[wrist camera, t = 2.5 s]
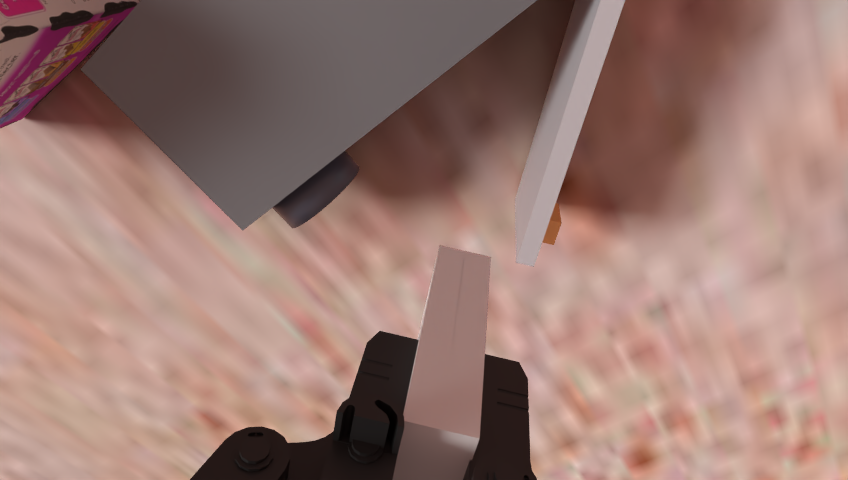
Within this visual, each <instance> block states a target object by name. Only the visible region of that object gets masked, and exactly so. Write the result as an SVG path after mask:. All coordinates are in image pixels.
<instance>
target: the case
mask: <svg viewBox="0 0 848 480" xmlns="http://www.w3.org/2000/svg"><path fill="white" fill-rule="evenodd" d="M536 1H537V0H141V1H140V2H139V3H138V4H137V5H136V6H135V8H134V9H133V10H132V11H131V12H130V13H129V14H128V16H127V17H126V18H125V19H124V20H123V21H122V22H121V24H120V25H119V26H118V27H117V28H116V29H115V30H114V32H113V33H112V34H111V35H110V36H109V37H108V38H107V40H106V41H105V42H104V43H103V44H102V45H101V46H100V48H99V49H98V50H97V51H96V52H95V53H94V54H93V56H92V57H91V58H90V59H89V60H88V61H87V62H86V64H85V65H84V66H83V67H82V68H81V69H80V70H81V71H82V72H83V73H84V74H85V75H86V76H87V77H88V78H89V79H90V80H91V81H92V82H93V83H94V84H95V85H96V86H97V87H98V88H100V89H101V90H102V91H103V92H104V93H105V94H106V95H107V96H108V97H109V98H110V99H111V100H112V101H113V102H114V103H115V104H116V105H117V106H118V107H119V108H120V109H121V110H122V111H123V112H124V113H125V114H126V115H127V116H128V117H129V118H130V119H131V120H132V121H133V122H134V123H135V124H136V125H137V126H138V127H139V128H140V129H141V130H142V131H143V132H144V133H145V134H146V135H147V136H148V137H149V138H150V139H151V140H152V141H153V142H154V143H155V144H156V145H157V146H158V147H159V148H160V149H161V150H162V151H163V152H164V153H165V154H166V155H167V156H168V157H169V158H170V159H171V160H172V161H173V162H174V163H175V164H176V165H177V166H178V167H179V168H180V169H181V170H182V171H183V172H184V173H185V174H186V175H187V176H188V177H189V178H190V179H191V180H192V181H193V182H194V183H195V184H196V185H197V186H198V187H199V188H200V189H201V190H202V191H203V192H204V193H205V194H206V195H207V196H208V197H209V198H210V199H211V200H212V201H213V202H214V203H215V204H216V205H217V206H218V207H219V208H220V209H221V210H222V211H223V212H224V213H225V214H226V215H227V216H229V217H230V218H231V219H232V220H233V221H234V222H235V223H236V224H237V225H238V226H239V227H240V228H241V229H242V230H244V229H245V228H247V227H248V226H249V225H250V224H252V223H253V222H254V221H256V220H257V219H258V218H259V217H261V216H262V215H263V214H265V213H266V212H267V211H268V210H270V209H271V208H273V209H274V210H275V211H276V212H277V213H278V214H279V215H280V216H281V217H282V218H283V219H284V220H285V221H286V222H287V223H288V224H289V225H290V226H291V227H292V228H296V227H298V226H300V225H302V224H304V223H305V222H307V221H308V220H309V219H311V218H312V217H314V216H315V215H316V214H317V213H319V212H320V211H321V210H322V209H324V208H325V207H326V206H327V205H328V204H329V203H330V202H332V201H333V200H334V199H335V198H336V197H337V196H338V195H339V194H340V193H341V192H342V191H343V190H344V189H345V188H346V187H347V186H348V185H349V183H350V182H351V181H352V180H353V179H354V177H355V176H356V175H357V173H358V171H359V166H358V165H357V164H356V163H355V162H354V160H353V159H352V158H351V157H350V156H349V155H348V154H347V152H346V151H345V150H346V149H348V148H349V147H350V146H351V145H353V144H354V143H355V142H357V141H358V140H359V139H360V138H362V137H363V136H364V135H366V134H367V133H368V132H369V131H371V130H372V129H373V128H374V127H376V126H377V125H378V124H380V123H381V122H382V121H383V120H385V119H386V118H387V117H389V116H390V115H391V114H392V113H394V112H395V111H396V110H397V109H399V108H400V107H401V106H403V105H404V104H405V103H406V102H408V101H409V100H410V99H412V98H413V97H414V96H415V95H417V94H418V93H419V92H421V91H422V90H423V89H424V88H426V87H427V86H428V85H429V84H431V83H432V82H433V81H435V80H436V79H437V78H438V77H440V76H441V75H442V74H444V73H445V72H446V71H447V70H449V69H450V68H451V67H452V66H454V65H455V64H456V63H458V62H459V61H460V60H461V59H463V58H464V57H465V56H467V55H468V54H469V53H470V52H472V51H473V50H474V49H475V48H477V47H478V46H479V45H481V44H482V43H483V42H484V41H486V40H487V39H488V38H490V37H491V36H492V35H493V34H495V33H496V32H497V31H498V30H500V29H501V28H502V27H504V26H505V25H506V24H507V23H509V22H510V21H511V20H513V19H514V18H515V17H516V16H518V15H519V14H520V13H521V12H523V11H524V10H525V9H527V8H528V7H529V6H530V5H532V4H533V3H534V2H536Z"/></svg>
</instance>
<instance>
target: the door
mask: <svg viewBox="0 0 848 480" xmlns="http://www.w3.org/2000/svg"><path fill="white" fill-rule="evenodd" d="M624 2H625V0H575V2H574V6H573V9H572V12H571V16H570V19H569V22H568V26H567V29H566V32H565V36H564V39H563V42H562V46H561V49H560V52H559V55H558V59H557V62H556V65H555V69H554V72H553V75H552V79H551V82H550V85H549V89H548V92H547V95H546V99H545V102H544V105H543V108H542V112H541V115H540V118H539V122H538V125H537V128H536V132H535V135H534V138H533V142H532V145H531V148H530V152H529V155H528V158H527V161H526V165H525V168H524V171H523V175H522V178H521V181H520V185H519V188H518V191H517V195H516V198H515V229H516V263H520V264H524V265H528V266H533V267H534V265H535V262H536V259H537V256H538V253H539V250H540V247H541V244H542V242H543V243H548V244H552V245H554V243H555V240H556V237H557V234H558V231H559V229H560V226H561V217H560V210H559V204H557V203H556V201H557V198H558V195H559V192H560V189H561V186H562V183H563V180H564V177H565V174H566V171H567V169H568V166H569V163H570V160H571V157H572V154H573V151H574V148H575V145H576V142H577V139H578V136H579V134H580V131H581V128H582V125H583V122H584V119H585V116H586V113H587V110H588V107H589V104H590V101H591V99H592V96H593V93H594V90H595V87H596V84H597V81H598V78H599V75H600V72H601V69H602V66H603V64H604V61H605V58H606V55H607V52H608V49H609V46H610V43H611V40H612V37H613V34H614V31H615V29H616V26H617V23H618V20H619V17H620V14H621V11H622V8H623V5H624Z"/></svg>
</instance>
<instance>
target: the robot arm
mask: <svg viewBox="0 0 848 480" xmlns="http://www.w3.org/2000/svg"><path fill="white" fill-rule="evenodd" d="M490 262H491V257H488V256H484V255H480V254H475V253H471V252H467V251H462V250H458V249H454V248H449V247H445V246H441V245H439V249H438V253H437V258H436V262H435V266H434V270H433V274H432V278H431V283H430V287H429V291H428V295H427V299H426V304H425V308H424V312H423V316H422V321H421V325H420V330H419V334H418V339H417V340H416V339H412V338H408V337H403V336H399V335H395V334H391V333H386V332H382V331H379V332H378V333H377V334H376V335H375V336H374V337H373V338H372V339H371V340H370V341H368V342H367V345H366V348H365V351H364V354H363V357H362V361H361V363H360V366H359V370H358V373H357V376H356V379H355V382H354V385H353V388H352V391H351V394H350V397H349V399H347V400H345V401H344V402H343V403H342V404H341V406H340V407H339V409H338V411H337V414H336V421H335V427H334V431H333V432H332V433H331V434H329V435H328V436H326V437H324V438H321V439H319V440H316V441H310V442H299V443H287V441H286V440H285V438H284V437H283V436H282V435H280V434H279V433H278V432H276V431H275V430H272V429H269V428H265V427H248V428H245V429H242V430H240V431H237V432H235V433H234V434H232V435H231V436H230V437H228V438H227V439H226V440H225V441H224V442H223V443H222V444H221V445H220V446H219V447H218V449H217V450H216V451H215V452H214V453H213V454H212V455H211V456H210V458H209V459H208V460H207V461H206V462H205V463H204V464H203V465H202V467H201V468H200V469H199V470H198V471H197V472H196V473H195V475H194V476H193V477H192V478H191V479H190V480H537V478H536V476H535V475H534V473H533V472H532V469H531V463H530V438H529V412H528V409H529V405H528V378H527V376H526V375H525V373H524V371H523V369H522V367H521V365H520V363H519V362H516V361H512V360H508V359H503V358H499V357H495V356H490V355H486V354H485V343H486V327H487V311H488V294H489V278H490Z"/></svg>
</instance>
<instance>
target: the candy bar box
mask: <svg viewBox="0 0 848 480" xmlns="http://www.w3.org/2000/svg"><path fill="white" fill-rule="evenodd" d="M139 2H140V0H0V128H2V127H4V126H7V125H9V124H11V123H14V122H16V121H18V120H21V119H23V118H24V117H25V116H26V115H27V114H28V113H29V112H30V111H31V110H32V109H33V108H34V107H35V106H36V105H37V104H38V103H39V102H40V101H41V100H42V99H43V98H44V97H45V96H46V95H47V94H48V93H49V92H50V91H51V90H52V89H53V88H54V87H55V86H57V85H58V84H59V83H60V82H61V81H62V80H63V79H64V78H65V77H66V76H67V75H68V74H69V73H70V72H71V71H72V70H73V69H74V68H75V67H76V66H77V65H78V64H79V63H80V62H81V61H82V60H83V59H84V58H85V57H86V56H87V55H88V54H89V53H90V52H91V51H93V50H94V49H95V48H96V47H97V46H98V45H99V44H100V43H101V42H102V41H103V40H104V39H105V38H106V37H107V36H108V35H109V34H110V33H111V32H112V31H113V30H114V29H115V28H116V27H117V26H118V25H120V24H121V22H122V21H123V20H124V19H125V18H126V17H127V16H128V14H129V13H130V12H131V11H132V10H133V9H134V8H135V6H136V5H137V4H138V3H139Z"/></svg>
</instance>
